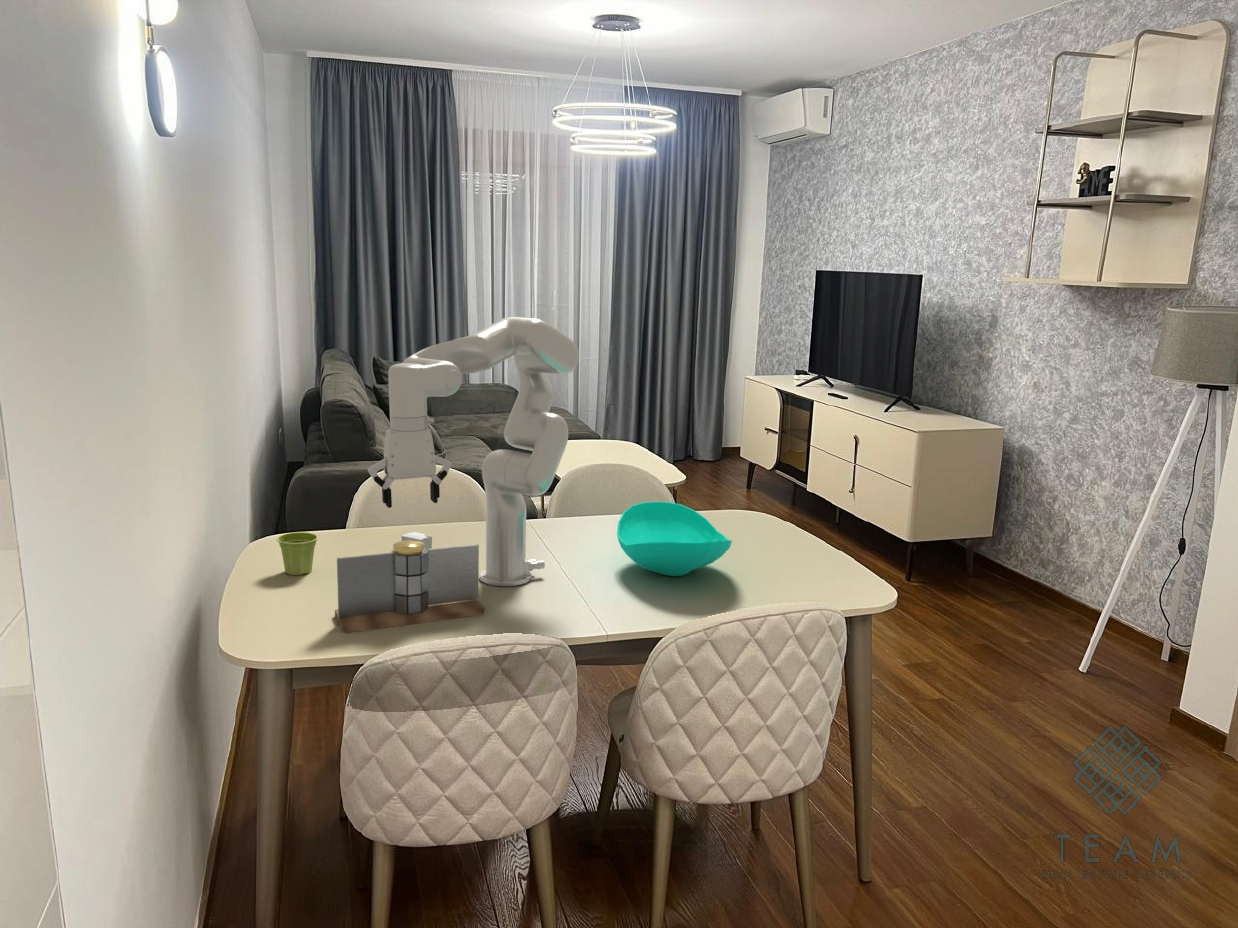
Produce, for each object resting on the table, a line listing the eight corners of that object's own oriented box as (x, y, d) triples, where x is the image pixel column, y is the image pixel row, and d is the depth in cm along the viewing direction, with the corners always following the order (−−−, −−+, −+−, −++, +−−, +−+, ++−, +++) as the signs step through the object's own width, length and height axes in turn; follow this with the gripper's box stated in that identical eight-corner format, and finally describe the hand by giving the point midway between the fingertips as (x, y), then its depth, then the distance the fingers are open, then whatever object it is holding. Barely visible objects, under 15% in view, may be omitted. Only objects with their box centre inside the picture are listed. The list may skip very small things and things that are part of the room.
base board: (471, 599, 213) (471, 592, 213) (484, 614, 205) (484, 607, 204) (334, 616, 200) (334, 609, 200) (343, 632, 192) (343, 625, 191)
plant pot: (323, 566, 233) (322, 532, 231) (313, 578, 224) (311, 543, 222) (285, 565, 233) (284, 531, 231) (273, 577, 223) (271, 542, 222)
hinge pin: (420, 598, 206) (419, 539, 203) (428, 608, 201) (427, 547, 198) (391, 602, 203) (390, 542, 201) (398, 612, 198) (397, 550, 195)
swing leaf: (397, 614, 197) (396, 557, 195) (390, 603, 204) (389, 548, 201) (482, 603, 206) (483, 549, 203) (473, 593, 212) (473, 540, 209)
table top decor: (750, 595, 222) (754, 541, 220) (636, 600, 216) (638, 545, 214) (700, 547, 260) (703, 500, 257) (602, 550, 254) (603, 502, 251)
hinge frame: (422, 601, 207) (422, 545, 204) (431, 612, 201) (431, 554, 198) (335, 611, 199) (334, 553, 196) (341, 623, 193) (340, 563, 190)
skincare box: (399, 584, 221) (399, 535, 219) (412, 579, 225) (412, 530, 223) (420, 589, 218) (419, 539, 216) (432, 584, 222) (432, 535, 220)
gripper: (444, 418, 201) (446, 495, 205) (362, 423, 194) (366, 503, 198) (454, 424, 195) (456, 504, 199) (370, 430, 187) (373, 512, 191)
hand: (411, 503), depth 198 cm, fingers open, 9 cm apart
